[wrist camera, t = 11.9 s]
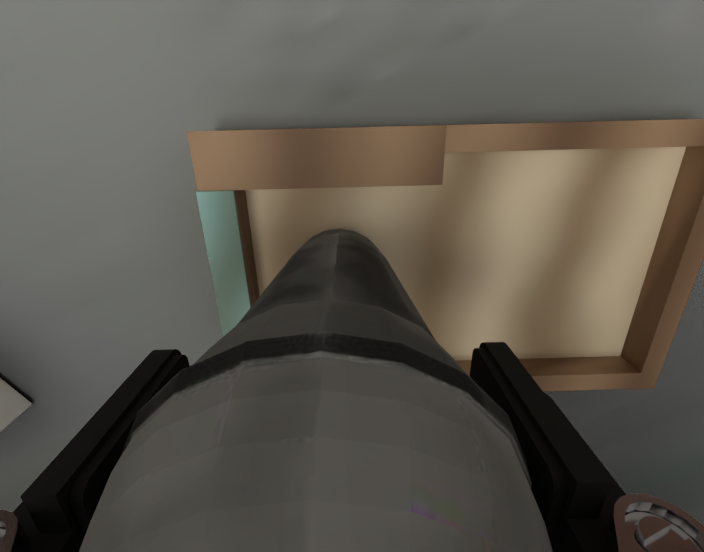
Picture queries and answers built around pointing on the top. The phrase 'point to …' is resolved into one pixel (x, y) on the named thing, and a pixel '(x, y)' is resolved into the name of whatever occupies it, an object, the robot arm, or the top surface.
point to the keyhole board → (480, 230)
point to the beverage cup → (322, 432)
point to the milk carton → (10, 404)
